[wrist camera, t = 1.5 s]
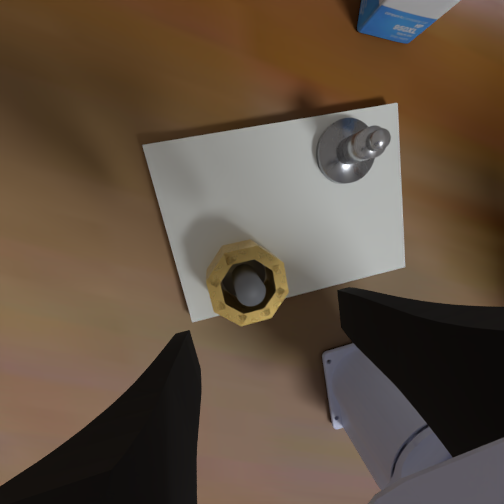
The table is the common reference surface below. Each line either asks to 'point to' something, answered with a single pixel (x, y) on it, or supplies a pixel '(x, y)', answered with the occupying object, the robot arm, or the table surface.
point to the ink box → (400, 17)
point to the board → (277, 207)
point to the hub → (350, 149)
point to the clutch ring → (229, 303)
